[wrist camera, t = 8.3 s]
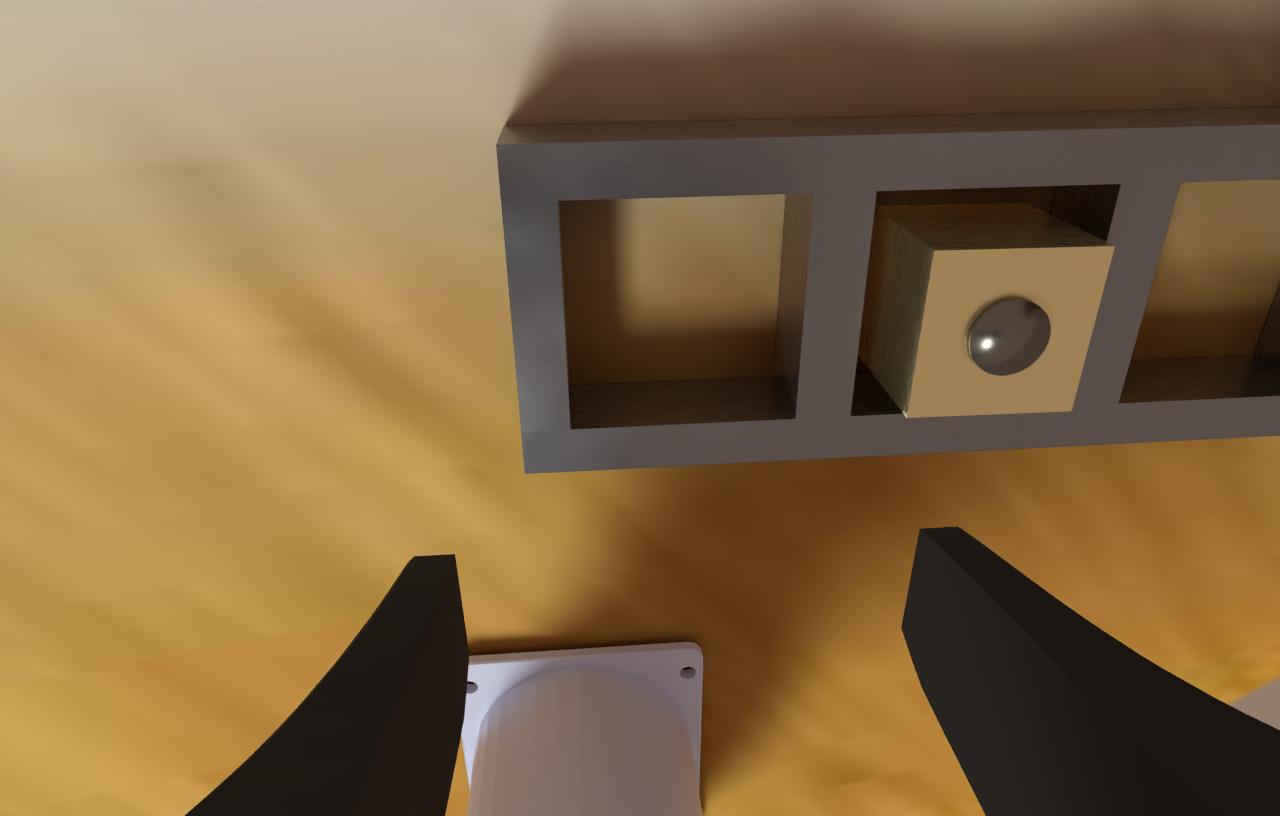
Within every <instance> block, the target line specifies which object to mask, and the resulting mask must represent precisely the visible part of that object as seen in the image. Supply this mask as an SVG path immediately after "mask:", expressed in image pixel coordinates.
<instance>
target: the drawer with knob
mask: <svg viewBox="0 0 1280 816" xmlns="http://www.w3.org/2000/svg"><path fill="white" fill-rule="evenodd" d="M1114 248H1115V246H1114V245H1112V244H1110V243H1108V242H1106V241H1104V240H1102V239H1100V238H1097V237H1095V236H1093V235H1091V234H1089V233H1087V232H1085V231H1083V230H1081V229H1079V228H1077V227H1075V226H1073V225H1071V224H1069V223H1067V222H1064V221H1062V220H1060V219H1058V218H1056V217H1054V216H1052V215H1050V214H1048V213H1046V212H1044V211H1042V210H1040V209H1038V208H1036V207H1033V206H1031V205H1029V204H1027V203H993V204H946V205H900V206H875V211H874V220H873V228H872V237H871V245H870V254H869V262H868V271H867V279H866V288H865V296H864V305H863V313H862V322H861V330H860V339H859V347H858V356H859V357H860V359H861V360H862V361H863V362H864V364H865V365H866V366H867V368H868V369H869V370H870V371H871V373H872V374H873V375H874V377H875V378H876V379H877V380H878V382H879V383H880V384H881V385H882V387H883V388H884V389H885V391H886V392H887V393H888V394H889V396H890V397H891V398H892V400H893V401H894V402H895V403H896V405H897V406H898V407H899V409H900V410H901V411H902V412H903V414H904V415H905V416H906V418H918V417H943V416H968V415H992V414H1017V413H1042V412H1067V411H1072V408H1073V404H1074V400H1075V396H1076V392H1077V389H1078V385H1079V381H1080V377H1081V373H1082V370H1083V366H1084V362H1085V358H1086V354H1087V351H1088V347H1089V343H1090V339H1091V335H1092V332H1093V328H1094V324H1095V320H1096V316H1097V313H1098V309H1099V305H1100V301H1101V297H1102V294H1103V290H1104V286H1105V282H1106V278H1107V275H1108V271H1109V267H1110V263H1111V259H1112V256H1113V252H1114Z"/></svg>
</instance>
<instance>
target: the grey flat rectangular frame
mask: <svg viewBox="0 0 1280 816" xmlns="http://www.w3.org/2000/svg"><path fill="white" fill-rule="evenodd" d="M496 147H497V159H498V170H499V182H500V193H501V205H502V216H503V228H504V239H505V251H506V262H507V274H508V285H509V297H510V308H511V319H512V331H513V342H514V354H515V365H516V377H517V388H518V400H519V411H520V423H521V434H522V446H523V457H524V469H525V474H532V473H552V472H571V471H591V470H611V469H630V468H650V467H670V466H689V465H709V464H729V463H748V462H768V461H788V460H807V459H827V458H847V457H866V456H886V455H906V454H925V453H945V452H965V451H984V450H1004V449H1024V448H1043V447H1063V446H1083V445H1102V444H1122V443H1142V442H1161V441H1181V440H1201V439H1220V438H1240V437H1260V436H1279V435H1280V285H1279V288H1278V290H1277V293H1276V296H1275V299H1274V302H1273V304H1272V307H1271V310H1270V313H1269V316H1268V319H1267V321H1266V324H1265V327H1264V330H1263V333H1262V335H1261V338H1260V341H1259V344H1258V347H1257V350H1256V352H1255V355H1252V356H1229V357H1206V358H1184V359H1161V360H1138V361H1130V360H1131V357H1132V353H1133V350H1134V346H1135V342H1136V339H1137V335H1138V332H1139V328H1140V325H1141V321H1142V318H1143V314H1144V311H1145V307H1146V303H1147V300H1148V296H1149V293H1150V289H1151V286H1152V282H1153V279H1154V275H1155V271H1156V268H1157V264H1158V261H1159V257H1160V254H1161V250H1162V247H1163V243H1164V239H1165V236H1166V232H1167V229H1168V225H1169V222H1170V218H1171V215H1172V211H1173V207H1174V204H1175V200H1176V197H1177V193H1178V190H1179V186H1180V183H1181V182H1201V181H1234V180H1268V179H1280V107H1258V108H1217V109H1175V110H1133V111H1091V112H1049V113H1008V114H966V115H924V116H882V117H841V118H799V119H757V120H715V121H673V122H632V123H590V124H548V125H506V126H504V127H503V129H502V132H501V134H500V137H499V139H498V141H497V144H496ZM1033 186H1057V189H1056V194H1055V199H1054V203H1053V208H1052V212H1051V215H1052V216H1054V217H1056V218H1058V219H1060V220H1062V221H1064V222H1067V223H1069V224H1071V225H1073V226H1075V227H1077V228H1079V229H1081V230H1083V231H1085V232H1087V233H1089V234H1091V235H1093V236H1095V237H1097V238H1100V239H1102V240H1104V241H1106V242H1108V243H1110V244H1112V245H1114V246H1115V248H1114V252H1113V256H1112V259H1111V263H1110V267H1109V271H1108V275H1107V278H1106V282H1105V286H1104V290H1103V294H1102V297H1101V301H1100V305H1099V309H1098V313H1097V316H1096V320H1095V324H1094V328H1093V332H1092V335H1091V339H1090V343H1089V347H1088V351H1087V354H1086V358H1085V362H1084V366H1083V370H1082V373H1081V377H1080V381H1079V385H1078V389H1077V392H1076V396H1075V400H1074V404H1073V408H1072V411H1067V412H1042V413H1017V414H992V415H968V416H943V417H918V418H906V416H905V415H904V414H903V412H902V411H901V410H900V409H899V407H898V406H897V405H896V403H895V402H894V401H893V400H892V398H891V397H890V396H889V394H888V393H887V392H886V391H885V389H884V388H883V387H882V385H881V384H880V383H879V382H878V380H877V379H876V378H875V377H874V375H873V374H872V373H871V372H867V373H856V364H857V356H858V347H859V339H860V330H861V322H862V313H863V305H864V296H865V288H866V279H867V271H868V262H869V254H870V245H871V237H872V228H873V220H874V211H875V203H876V194H877V191H899V190H933V189H966V188H1000V187H1033ZM765 194H786V198H785V212H784V227H783V242H782V256H781V271H780V286H779V300H778V315H777V330H776V344H775V359H774V374H773V377H754V378H731V379H709V380H686V381H663V382H641V383H618V384H596V385H573V386H570V375H569V357H568V339H567V321H566V303H565V284H564V266H563V248H562V230H561V212H560V201H564V200H598V199H631V198H665V197H698V196H732V195H765Z"/></svg>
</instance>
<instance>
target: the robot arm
mask: <svg viewBox="0 0 1280 816" xmlns="http://www.w3.org/2000/svg"><path fill="white" fill-rule="evenodd" d="M901 628H902V631H903V634H904V637H905V640H906V643H907V646H908V649H909V652H910V655H911V658H912V661H913V664H914V667H915V670H916V672H917V675H918V678H919V681H920V684H921V686H922V689H923V691H924V693H925V695H926V697H927V699H928V701H929V703H930V705H931V707H932V709H933V711H934V713H935V715H936V717H937V719H938V721H939V723H940V725H941V727H942V730H943V732H944V734H945V736H946V738H947V740H948V742H949V743H950V745H951V747H952V749H953V751H954V753H955V755H956V757H957V759H958V761H959V763H960V765H961V767H962V769H963V771H964V773H965V775H966V777H967V779H968V781H969V783H970V785H971V787H972V789H973V791H974V793H975V795H976V797H977V799H978V801H979V803H980V805H981V807H982V809H983V811H984V813H985V815H986V816H1280V730H1278V729H1276V728H1274V727H1272V726H1270V725H1268V724H1265V723H1263V722H1261V721H1259V720H1257V719H1255V718H1253V717H1251V716H1249V715H1247V714H1245V713H1243V712H1241V711H1239V710H1237V709H1235V708H1233V707H1231V706H1229V705H1227V704H1226V703H1224V702H1222V701H1220V700H1218V699H1216V698H1214V697H1212V696H1210V695H1209V694H1207V693H1205V692H1203V691H1202V690H1200V689H1198V688H1196V687H1194V686H1193V685H1191V684H1189V683H1187V682H1186V681H1184V680H1182V679H1180V678H1178V677H1177V676H1175V675H1173V674H1171V673H1170V672H1168V671H1166V670H1164V669H1163V668H1161V667H1159V666H1158V665H1156V664H1154V663H1153V662H1151V661H1149V660H1148V659H1146V658H1144V657H1143V656H1141V655H1140V654H1138V653H1136V652H1135V651H1133V650H1132V649H1130V648H1129V647H1127V646H1126V645H1124V644H1123V643H1121V642H1119V641H1118V640H1116V639H1115V638H1113V637H1112V636H1110V635H1109V634H1107V633H1106V632H1104V631H1102V630H1101V629H1099V628H1098V627H1096V626H1095V625H1094V624H1092V623H1091V622H1089V621H1088V620H1086V619H1085V618H1083V617H1082V616H1080V615H1079V614H1077V613H1076V612H1075V611H1073V610H1072V609H1070V608H1069V607H1068V606H1066V605H1065V604H1063V603H1062V602H1061V601H1059V600H1058V599H1056V598H1055V597H1054V596H1052V595H1051V594H1049V593H1048V592H1047V591H1045V590H1044V589H1043V588H1041V587H1040V586H1038V585H1037V584H1036V583H1034V582H1033V581H1032V580H1030V579H1029V578H1028V577H1026V576H1025V575H1024V574H1022V573H1021V572H1020V571H1018V570H1017V569H1016V568H1014V567H1013V566H1011V565H1010V564H1009V563H1007V562H1006V561H1005V560H1003V559H1002V558H1001V557H999V556H998V555H997V554H995V553H994V552H993V551H991V550H990V549H989V548H987V547H986V546H985V545H983V544H982V543H981V542H979V541H978V540H976V539H975V538H974V537H972V536H971V535H969V534H968V533H966V532H965V531H964V530H962V529H961V528H959V527H944V528H926V529H920V531H919V536H918V542H917V547H916V552H915V558H914V563H913V568H912V574H911V579H910V585H909V590H908V595H907V601H906V606H905V611H904V617H903V622H902V627H901ZM685 667H692V668H691V669H688V670H682V669H683V668H685ZM468 681H470V682H474V683H475V684H467V682H468ZM702 686H703V655H702V650H701V648H700V647H699V645H698V644H695V643H693V642H677V643H661V644H646V645H630V646H615V647H599V648H584V649H568V650H553V651H537V652H522V653H506V654H491V655H475V656H469V649H468V642H467V635H466V628H465V621H464V614H463V607H462V601H461V594H460V587H459V580H458V573H457V566H456V559H455V554H451V555H433V556H415V557H413V558H412V559H411V560H410V561H409V562H408V563H407V565H406V566H405V568H404V569H403V571H402V572H401V574H400V575H399V577H398V578H397V580H396V581H395V583H394V584H393V586H392V587H391V589H390V590H389V592H388V593H387V595H386V596H385V597H384V599H383V600H382V602H381V603H380V605H379V606H378V607H377V609H376V610H375V612H374V613H373V614H372V616H371V617H370V619H369V620H368V621H367V623H366V624H365V625H364V627H363V628H362V629H361V631H360V632H359V633H358V634H357V636H356V637H355V638H354V640H353V641H352V642H351V644H350V645H349V646H348V648H347V649H346V650H345V652H344V653H343V654H342V655H341V657H340V658H339V659H338V660H337V662H336V663H335V664H334V665H333V667H332V668H331V669H330V670H329V671H328V672H327V674H326V675H325V676H324V677H323V678H322V680H321V681H320V682H319V683H318V684H317V685H316V687H315V688H314V689H313V690H312V691H311V692H310V694H309V695H308V696H307V697H306V698H305V700H304V701H303V702H302V703H301V704H300V705H299V706H298V707H297V709H296V710H295V711H294V712H293V713H292V714H291V715H290V716H289V717H288V718H287V719H286V721H285V722H284V723H283V724H282V725H281V726H280V727H279V728H278V729H277V730H276V731H275V732H274V733H273V734H272V735H271V736H270V737H269V738H268V739H267V740H266V741H265V742H264V743H263V744H262V745H261V746H260V747H259V748H258V749H257V750H256V751H255V752H254V753H253V754H252V755H251V756H250V757H249V758H248V759H247V760H246V761H245V762H244V763H243V764H242V765H241V766H240V767H239V768H238V769H236V770H235V771H234V772H233V773H232V774H231V775H230V776H229V777H228V778H227V779H226V780H224V781H223V782H222V783H221V784H220V785H219V786H218V787H217V788H216V789H215V790H213V791H212V792H211V793H210V794H209V795H208V796H207V797H205V798H204V799H203V800H202V801H201V802H200V803H199V804H197V805H196V806H195V807H194V808H193V809H192V810H191V811H189V812H188V813H187V814H186V815H185V816H445V813H446V808H447V803H448V798H449V793H450V788H451V783H452V778H453V773H454V768H455V763H456V758H457V753H458V748H459V743H460V738H461V737H462V743H463V750H464V756H465V763H466V769H467V776H468V782H469V789H470V794H469V802H468V811H467V816H703V815H702V809H701V802H700V796H699V782H700V750H701V718H702Z"/></svg>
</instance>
